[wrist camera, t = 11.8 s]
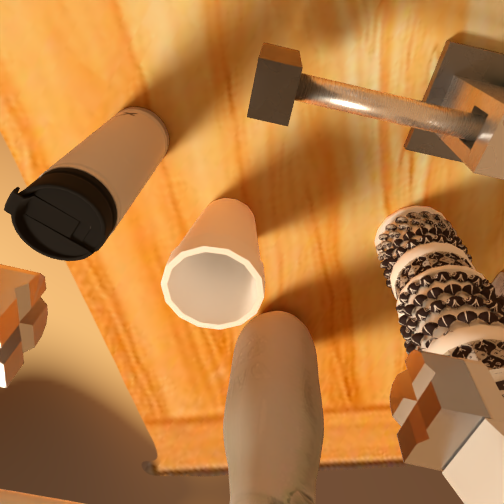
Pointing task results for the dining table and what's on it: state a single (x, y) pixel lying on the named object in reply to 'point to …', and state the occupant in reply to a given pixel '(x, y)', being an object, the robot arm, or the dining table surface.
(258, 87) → the shaft
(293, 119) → the dining table surface
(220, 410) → the dining table surface
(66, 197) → the travel mug
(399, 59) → the dining table surface
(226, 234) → the foam cup
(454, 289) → the decorative candle
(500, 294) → the coffee box
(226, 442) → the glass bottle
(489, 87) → the bearing stand
